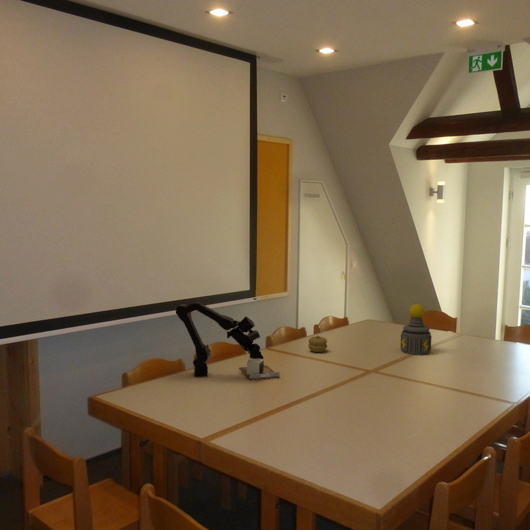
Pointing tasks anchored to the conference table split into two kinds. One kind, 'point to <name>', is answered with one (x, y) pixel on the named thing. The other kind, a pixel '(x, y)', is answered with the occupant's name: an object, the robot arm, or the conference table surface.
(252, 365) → the medicine bottle
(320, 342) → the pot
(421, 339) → the decorative lamp
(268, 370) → the shelf board
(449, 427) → the conference table surface
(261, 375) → the price rail
